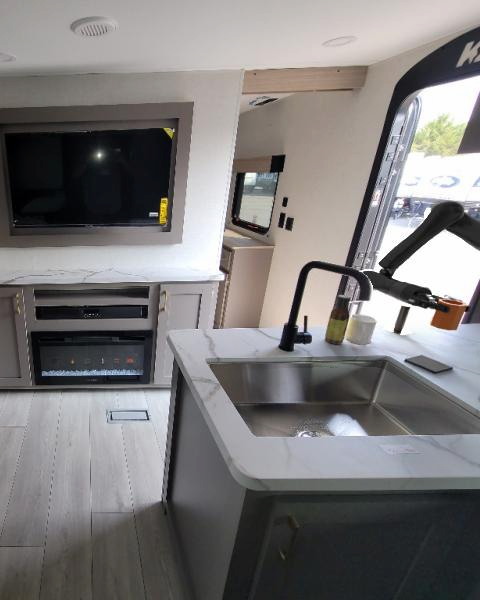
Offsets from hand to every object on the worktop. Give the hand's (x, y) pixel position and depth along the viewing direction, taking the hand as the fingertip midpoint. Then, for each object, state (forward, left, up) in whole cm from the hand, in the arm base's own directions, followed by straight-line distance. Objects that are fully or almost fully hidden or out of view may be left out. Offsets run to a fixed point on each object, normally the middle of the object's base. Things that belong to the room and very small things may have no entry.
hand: (458, 309), depth 107 cm
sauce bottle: (+13, -26, -23) cm, 37 cm away
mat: (-1, -2, -23) cm, 23 cm away
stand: (-19, -23, -22) cm, 37 cm away
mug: (+5, -22, -23) cm, 32 cm away
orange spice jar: (-1, -2, -7) cm, 8 cm away
